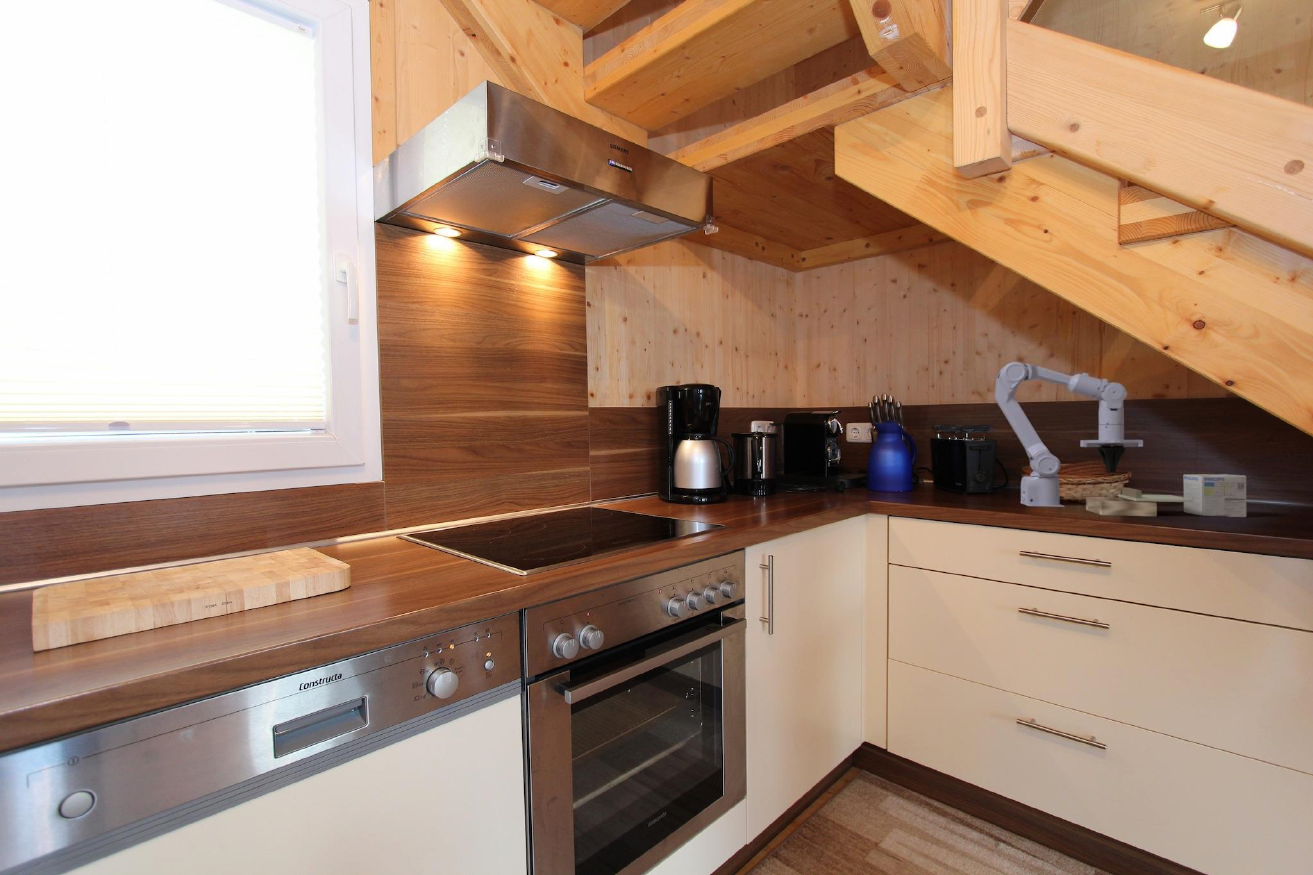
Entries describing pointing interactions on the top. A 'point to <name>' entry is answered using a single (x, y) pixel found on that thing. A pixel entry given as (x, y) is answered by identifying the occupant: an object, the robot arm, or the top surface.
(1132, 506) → the pine box
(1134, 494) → the lid
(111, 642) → the top surface
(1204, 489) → the light bulb box
